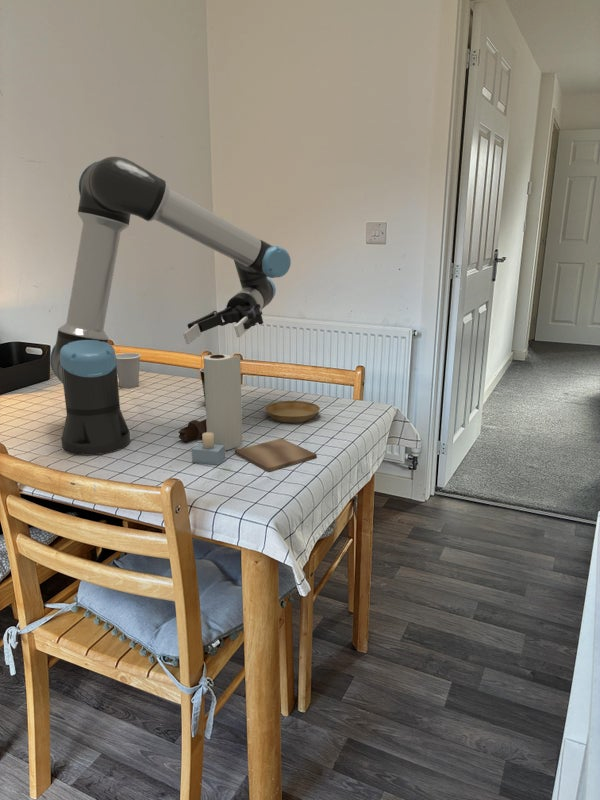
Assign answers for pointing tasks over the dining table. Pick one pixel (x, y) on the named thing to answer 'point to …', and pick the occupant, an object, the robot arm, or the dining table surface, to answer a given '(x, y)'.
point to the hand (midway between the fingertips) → (211, 335)
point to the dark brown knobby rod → (193, 430)
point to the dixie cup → (128, 369)
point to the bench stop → (208, 451)
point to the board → (275, 454)
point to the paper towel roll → (223, 399)
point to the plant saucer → (292, 411)
